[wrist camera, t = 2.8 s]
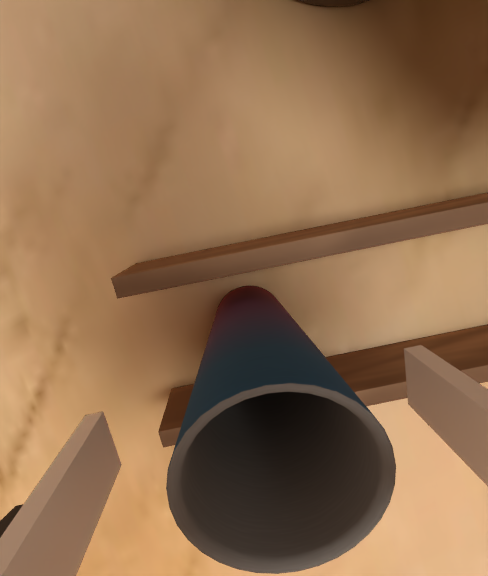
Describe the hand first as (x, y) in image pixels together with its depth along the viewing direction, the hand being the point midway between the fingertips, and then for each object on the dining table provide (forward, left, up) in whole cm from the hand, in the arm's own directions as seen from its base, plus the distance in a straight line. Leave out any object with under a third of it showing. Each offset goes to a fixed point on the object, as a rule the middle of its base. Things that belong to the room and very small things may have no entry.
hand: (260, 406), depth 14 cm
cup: (0, 0, -11) cm, 11 cm away
